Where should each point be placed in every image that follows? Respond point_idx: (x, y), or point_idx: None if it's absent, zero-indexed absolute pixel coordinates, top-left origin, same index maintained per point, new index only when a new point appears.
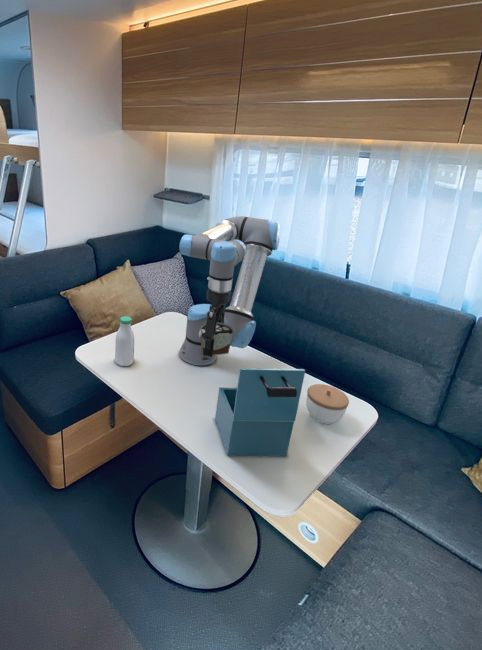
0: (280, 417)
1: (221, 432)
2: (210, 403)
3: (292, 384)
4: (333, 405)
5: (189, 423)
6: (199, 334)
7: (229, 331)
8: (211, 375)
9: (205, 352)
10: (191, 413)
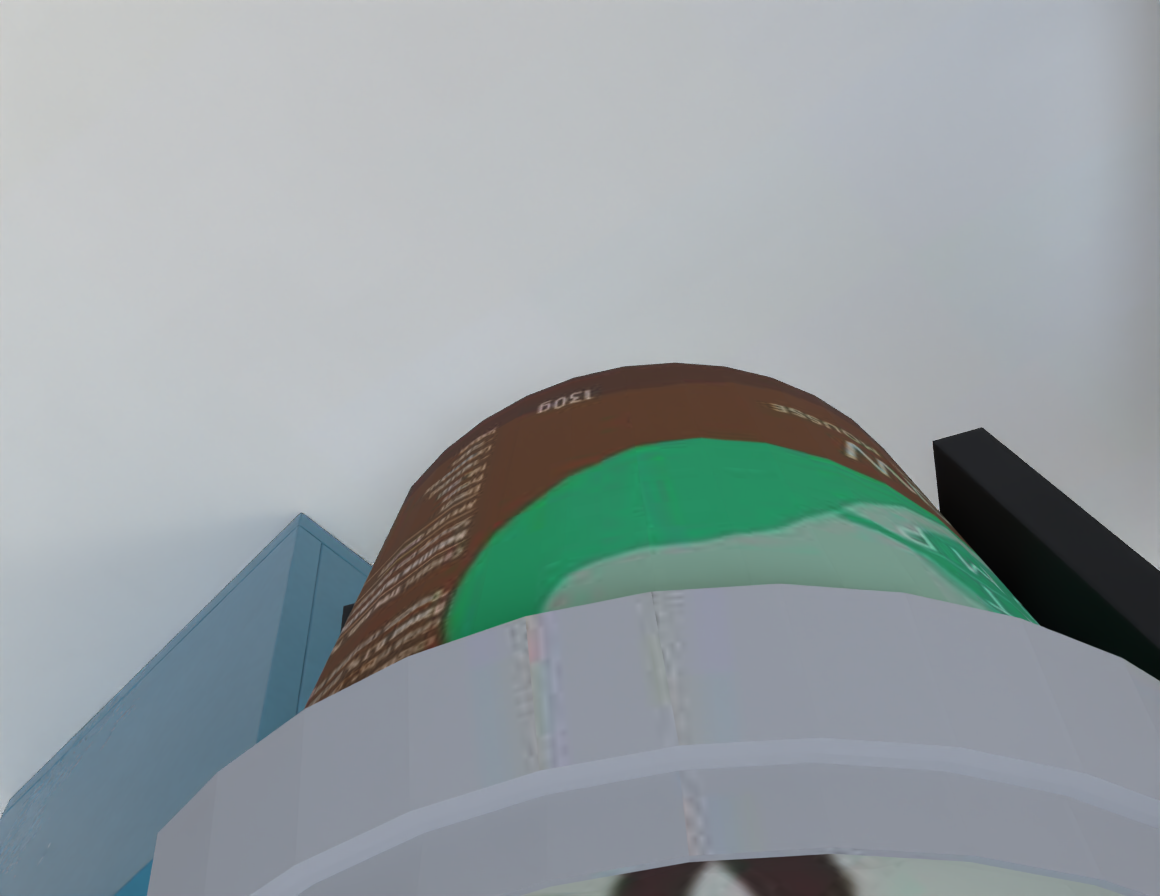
0: None
1: (137, 692)
2: (488, 345)
3: None
4: None
5: (36, 378)
6: (234, 830)
7: None
8: (976, 55)
9: None
10: (183, 300)
